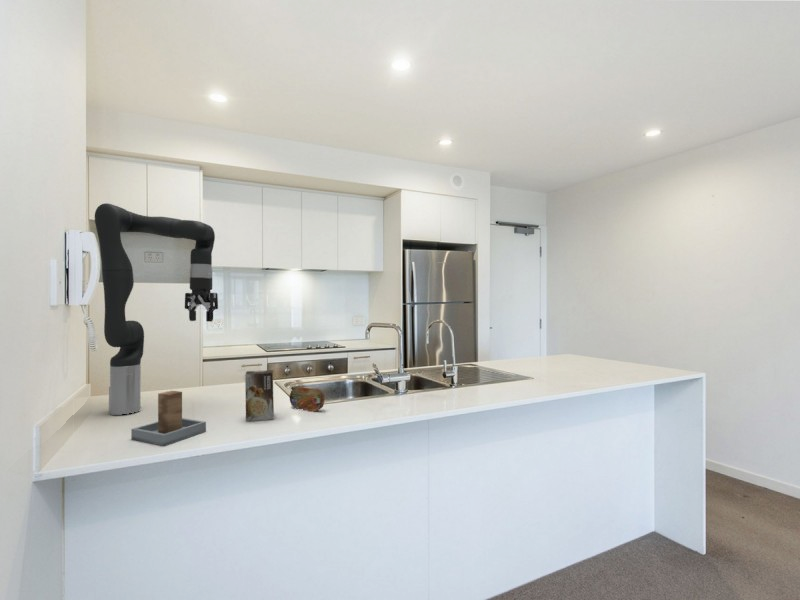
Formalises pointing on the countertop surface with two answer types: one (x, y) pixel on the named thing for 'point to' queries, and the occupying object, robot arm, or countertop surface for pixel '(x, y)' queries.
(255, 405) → the coffee box
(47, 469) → the countertop surface
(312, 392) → the tin
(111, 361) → the robot arm
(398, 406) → the countertop surface
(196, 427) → the tray
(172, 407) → the walnut block
